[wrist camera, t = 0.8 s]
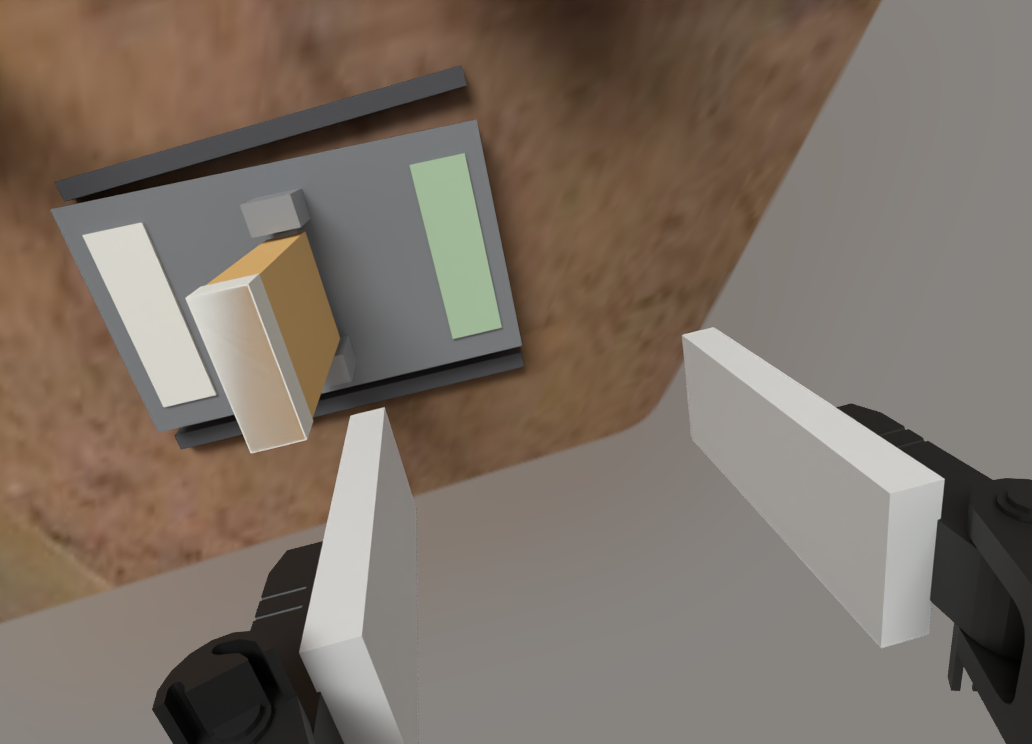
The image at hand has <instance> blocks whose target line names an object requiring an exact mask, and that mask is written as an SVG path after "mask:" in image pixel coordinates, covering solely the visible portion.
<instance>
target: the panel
mask: <svg viewBox="0 0 1032 744" xmlns="http://www.w3.org/2000/svg"><path fill="white" fill-rule="evenodd" d="M50 211H51V213H52V215H53V217H54V219H55V221H56V223H57V225H58V227H59V229H60V231H61V233H62V235H63V237H64V239H65V241H66V244H67V246H68V248H69V250H70V252H71V254H72V256H73V258H74V260H75V262H76V264H77V266H78V268H79V270H80V272H81V274H82V277H83V279H84V281H85V283H86V285H87V287H88V289H89V291H90V293H91V295H92V297H93V299H94V301H95V303H96V305H97V307H98V310H99V312H100V314H101V316H102V318H103V320H104V322H105V324H106V326H107V328H108V330H109V332H110V334H111V336H112V338H113V340H114V343H115V345H116V347H117V349H118V351H119V353H120V355H121V357H122V359H123V361H124V363H125V365H126V367H127V369H128V371H129V373H130V376H131V378H132V380H133V382H134V384H135V386H136V388H137V390H138V392H139V394H140V396H141V398H142V400H143V402H144V404H145V406H146V409H147V411H148V413H149V415H150V417H151V419H152V421H153V423H154V425H155V427H156V429H157V431H158V433H159V432H163V431H167V430H171V429H176V428H180V427H184V426H188V425H192V424H196V423H201V422H205V421H209V420H213V419H217V418H222V417H226V416H230V415H234V412H233V410H232V408H231V405H230V403H229V400H228V398H227V396H226V393H225V391H224V389H223V386H222V384H221V382H220V379H219V377H218V374H217V372H216V370H215V367H214V365H213V363H212V360H211V358H210V356H209V353H208V351H207V348H206V346H205V344H204V341H203V339H202V337H201V334H200V332H199V330H198V327H197V325H196V322H195V320H194V318H193V315H192V313H191V311H190V308H189V306H188V303H187V301H186V299H185V298H186V297H187V296H189V295H190V294H191V293H193V292H194V291H195V290H197V289H198V288H199V287H201V286H205V285H207V284H208V283H209V282H211V281H212V280H213V279H215V278H216V277H217V276H219V275H220V274H221V273H223V272H224V271H225V270H227V269H228V268H229V267H231V266H232V265H233V264H235V263H236V262H237V261H239V260H240V259H241V258H243V257H244V256H245V255H247V254H248V253H249V252H251V251H252V250H253V249H255V248H256V247H257V246H259V245H260V244H261V243H263V242H264V241H265V240H267V239H271V238H274V237H273V234H274V233H277V232H282V231H286V230H291V229H297V232H303V231H305V232H306V235H307V238H308V241H309V244H310V247H311V250H312V253H313V257H314V260H315V263H316V266H317V269H318V272H319V275H320V278H321V281H322V284H323V287H324V290H325V293H326V296H327V299H328V302H329V305H330V308H331V312H332V315H333V318H334V321H335V324H336V327H337V330H338V333H339V336H340V340H339V343H338V346H337V349H336V352H335V355H334V358H333V361H332V363H331V366H330V369H329V372H328V375H327V378H326V381H325V384H324V386H323V389H322V392H321V394H322V393H326V392H330V391H335V390H339V389H343V388H347V387H351V386H356V385H360V384H364V383H368V382H372V381H376V380H381V379H385V378H389V377H393V376H397V375H402V374H406V373H410V372H414V371H418V370H422V369H427V368H431V367H435V366H439V365H443V364H448V363H452V362H456V361H460V360H464V359H468V358H473V357H477V356H481V355H485V354H489V353H494V352H498V351H502V350H506V349H510V348H515V347H519V346H522V342H521V337H520V332H519V327H518V322H517V317H516V313H515V308H514V303H513V298H512V293H511V288H510V283H509V278H508V273H507V268H506V263H505V258H504V253H503V248H502V243H501V238H500V233H499V228H498V223H497V219H496V214H495V209H494V204H493V199H492V194H491V189H490V184H489V179H488V174H487V169H486V164H485V159H484V154H483V149H482V144H481V139H480V134H479V129H478V125H477V120H471V121H467V122H462V123H457V124H452V125H448V126H443V127H438V128H433V129H429V130H424V131H419V132H414V133H410V134H405V135H400V136H396V137H391V138H386V139H381V140H377V141H372V142H367V143H362V144H358V145H353V146H348V147H343V148H339V149H334V150H329V151H324V152H320V153H315V154H310V155H305V156H301V157H296V158H291V159H286V160H282V161H277V162H272V163H267V164H263V165H258V166H253V167H248V168H244V169H239V170H234V171H229V172H225V173H220V174H215V175H210V176H206V177H201V178H196V179H191V180H187V181H182V182H177V183H172V184H168V185H163V186H158V187H153V188H149V189H144V190H139V191H134V192H130V193H125V194H120V195H115V196H111V197H106V198H101V199H96V200H92V201H87V202H82V203H78V204H73V205H68V206H64V207H59V208H55V209H50Z"/></svg>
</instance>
